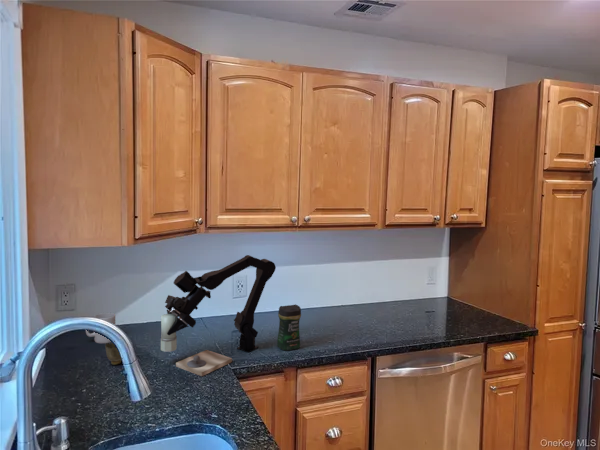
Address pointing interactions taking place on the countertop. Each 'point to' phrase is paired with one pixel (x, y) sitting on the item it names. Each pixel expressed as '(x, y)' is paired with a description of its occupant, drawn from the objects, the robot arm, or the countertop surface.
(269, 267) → the robot arm
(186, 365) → the mounting board
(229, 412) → the countertop surface
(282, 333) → the coffee jar
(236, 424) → the countertop surface
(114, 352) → the cup
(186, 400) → the countertop surface
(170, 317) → the light bulb
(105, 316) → the mug
